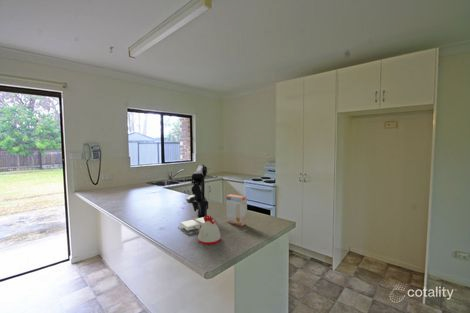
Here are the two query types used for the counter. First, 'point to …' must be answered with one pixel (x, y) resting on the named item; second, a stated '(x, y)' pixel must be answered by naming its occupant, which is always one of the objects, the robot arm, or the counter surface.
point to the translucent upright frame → (236, 209)
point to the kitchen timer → (209, 232)
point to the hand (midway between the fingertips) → (198, 212)
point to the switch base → (190, 230)
